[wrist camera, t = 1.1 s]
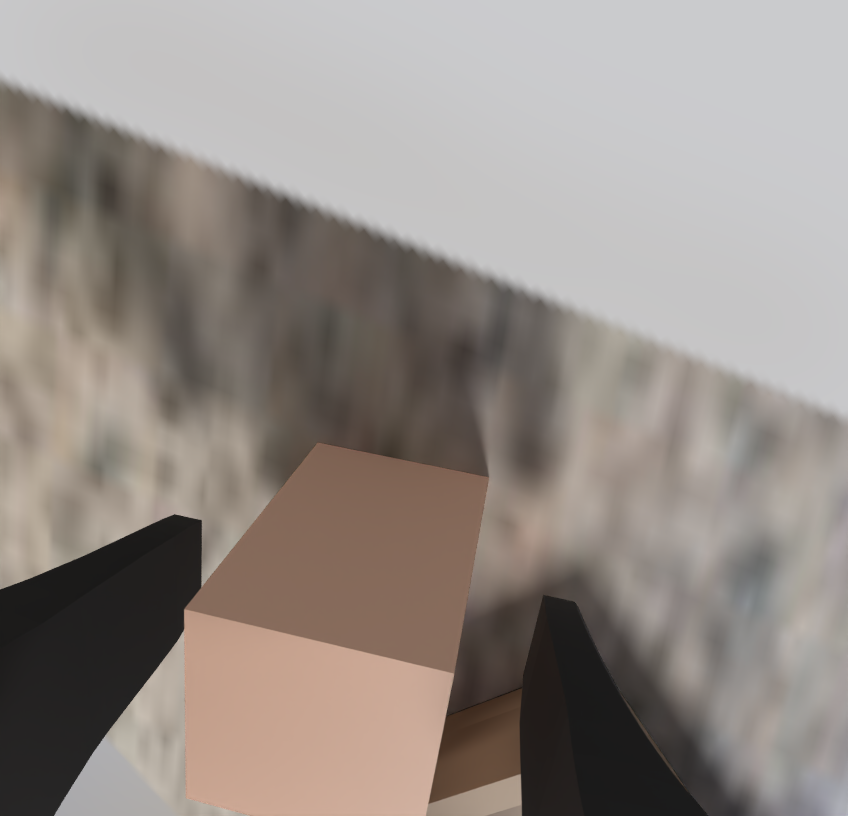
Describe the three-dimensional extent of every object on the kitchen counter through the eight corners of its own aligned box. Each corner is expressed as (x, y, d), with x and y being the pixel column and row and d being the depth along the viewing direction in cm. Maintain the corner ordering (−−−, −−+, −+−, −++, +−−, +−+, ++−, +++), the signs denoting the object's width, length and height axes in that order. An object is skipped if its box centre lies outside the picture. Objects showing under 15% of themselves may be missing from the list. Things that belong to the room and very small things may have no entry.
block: (489, 476, 14) (454, 673, 9) (461, 618, 16) (417, 860, 10) (318, 442, 15) (184, 609, 9) (306, 583, 16) (185, 798, 11)
